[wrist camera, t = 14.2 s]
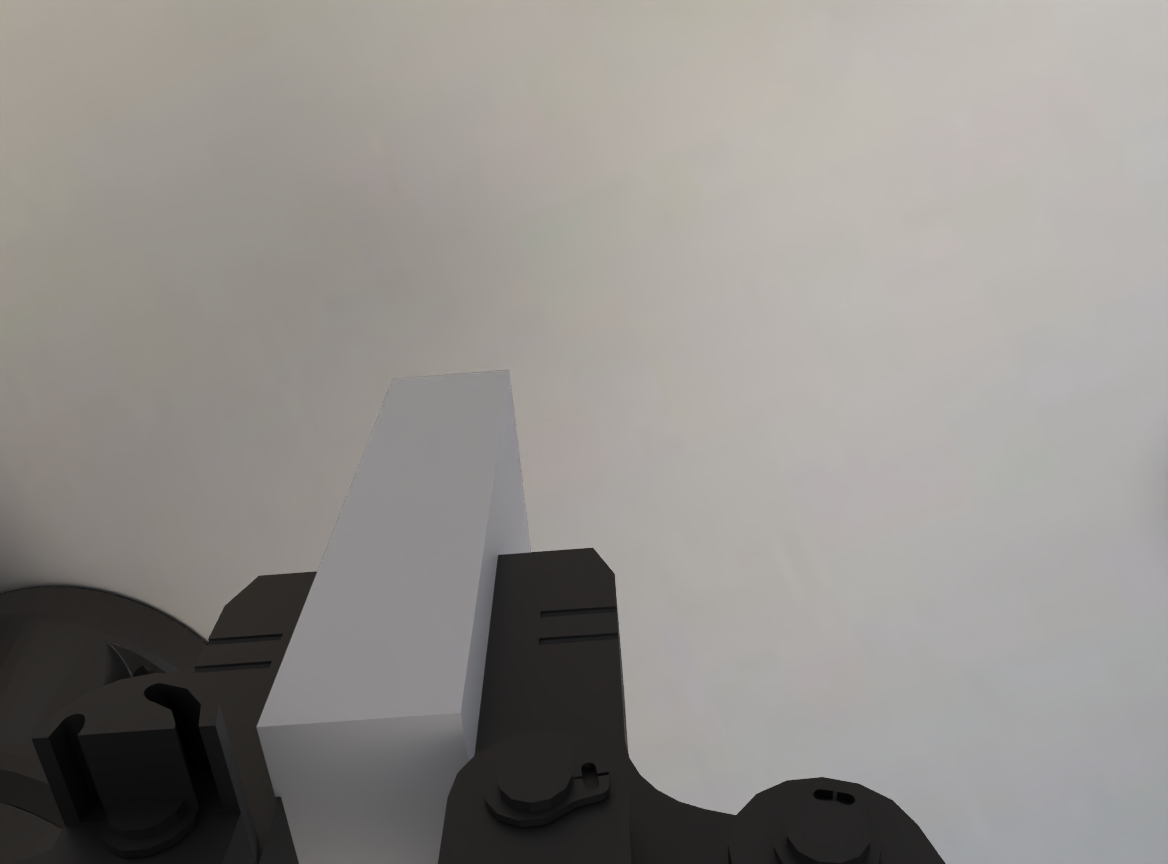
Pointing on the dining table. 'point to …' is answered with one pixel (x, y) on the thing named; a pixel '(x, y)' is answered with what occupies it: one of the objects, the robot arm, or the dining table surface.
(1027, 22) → the dining table surface
